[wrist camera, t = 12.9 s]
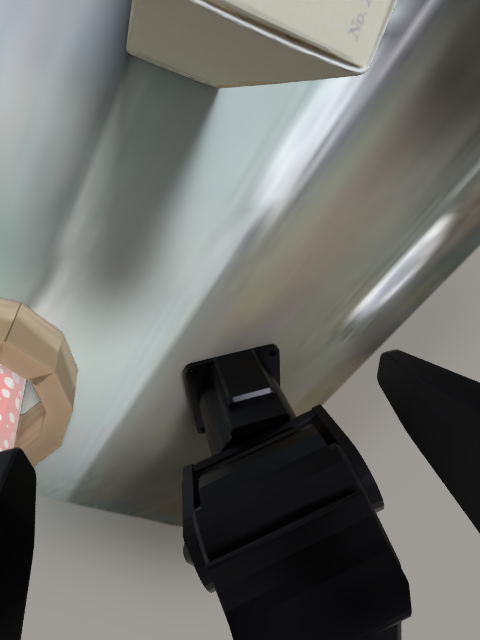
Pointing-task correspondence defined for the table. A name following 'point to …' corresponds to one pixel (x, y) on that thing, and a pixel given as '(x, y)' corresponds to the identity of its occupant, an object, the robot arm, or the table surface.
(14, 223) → the table surface
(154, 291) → the table surface
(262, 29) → the skincare box
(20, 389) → the beverage cup
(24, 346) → the holder ring
